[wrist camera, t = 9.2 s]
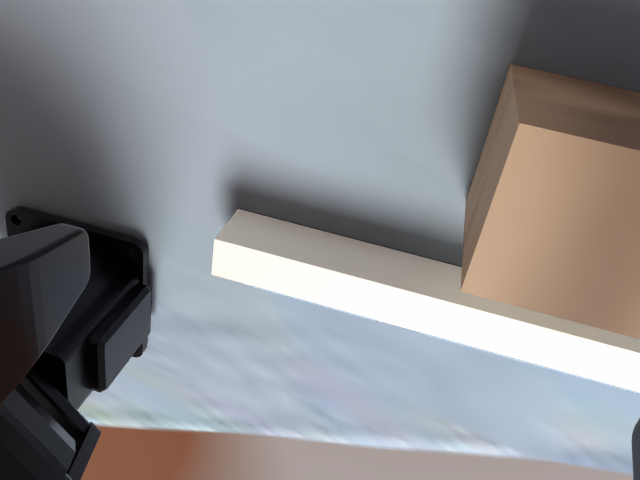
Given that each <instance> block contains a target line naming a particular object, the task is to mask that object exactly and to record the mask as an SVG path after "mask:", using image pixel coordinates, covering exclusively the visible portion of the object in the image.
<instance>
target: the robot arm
mask: <svg viewBox="0 0 640 480" xmlns="http://www.w3.org/2000/svg"><path fill="white" fill-rule="evenodd" d="M17 216H18V217H19V218H20V220H19V219H18V217H17ZM6 225H7V232H8V237H6V238H2V239H0V480H80V479H81V477H82V475H83V472H84V470H85V468H86V466H87V463H88V461H89V459H90V457H91V454H92V452H93V450H94V448H95V445H96V443H97V441H98V439H99V436H100V434H101V431H99V429H98V428H97V427H96V426H95V425H94V424H93V423H92V422H90V423H89V422H88V421H87V420H86V419H85V418H84V417H83V416H82V415H81V414H80V412H79V411H78V409H79V407H80V406H81V405H82V404H83V402H84V401H85V400H86V399H87V397H88V396H89V395H90V393H91V392H92V391H93V390H94V391H97V392H102V391H104V390H106V389H107V388H108V387H109V386H110V384H111V383H112V382H113V380H114V379H115V378H116V376H117V375H118V374H119V373H120V371H121V370H122V369H123V367H124V366H125V365H126V363H127V362H128V361H129V359H130V358H131V357H140V356H141V355H142V354H143V352H144V351H145V350H146V347H147V336H148V335H149V333H150V323H151V290H150V288H149V286H148V285H147V275H148V249H147V246H146V244H145V243H144V242H143V241H142V240H140V239H138V238H135V237H131V236H127V235H124V234H120V233H116V232H113V231H109V230H105V229H102V228H98V227H94V226H91V225H87V224H83V223H80V222H76V221H72V220H69V219H65V218H61V217H58V216H54V215H50V214H47V213H43V212H39V211H36V210H32V209H28V208H25V207H21V206H16V207H13V208H12V209H10V210H9V211H8V212H7V213H6ZM132 247H133V248H135V249H136V250H137V252H138V253H136V252H134V251H133V249H132ZM632 459H633V479H634V480H640V419H639V420H638V422H637V423H636V425H635V427H634V430H633V434H632Z"/></svg>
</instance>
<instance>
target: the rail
mask: <svg viewBox="0 0 640 480" xmlns="http://www.w3.org/2000/svg"><path fill="white" fill-rule="evenodd" d="M212 275H215V276H219V277H223V278H226V279H230V280H233V281H237V282H241V283H244V284H248V285H251V287H253V288H257V289H261V290H264V291H268V292H271V293H275V294H279V295H282V296H286V297H290V298H293V299H297V300H300V301H304V302H308V303H311V304H315V305H319V306H322V307H326V308H329V309H333V310H337V311H340V312H344V313H347V314H351V315H355V316H358V317H362V318H366V319H369V320H373V321H376V322H378V321H382V322H386V323H389V324H393V325H397V326H400V327H404V328H407V329H411V330H415V331H417V333H420V334H424V335H427V336H431V337H434V338H438V339H442V340H445V341H449V342H452V343H456V344H460V345H463V346H467V347H471V348H474V349H478V350H481V351H485V352H489V353H492V354H496V355H500V356H503V357H507V358H510V359H514V360H518V361H521V362H525V363H529V364H532V365H536V366H539V367H543V368H547V369H550V370H554V371H557V372H561V373H565V374H568V375H572V376H576V377H579V378H583V379H586V380H590V381H594V382H597V383H601V384H605V385H608V386H612V387H615V388H619V389H623V390H626V391H630V392H634V393H637V394H638V393H640V339H637V338H633V337H629V336H625V335H622V334H618V333H614V332H610V331H607V330H603V329H599V328H595V327H592V326H588V325H584V324H580V323H577V322H573V321H569V320H565V319H562V318H558V317H554V316H550V315H547V314H543V313H539V312H535V311H532V310H528V309H524V308H520V307H517V306H513V305H509V304H505V303H502V302H498V301H494V300H490V299H487V298H483V297H479V296H475V295H472V294H468V293H464V292H460V291H461V275H462V267H458V266H455V265H451V264H447V263H443V262H439V261H435V260H432V259H428V258H424V257H420V256H416V255H413V254H409V253H405V252H401V251H397V250H393V249H390V248H386V247H382V246H378V245H374V244H370V243H367V242H363V241H359V240H355V239H351V238H347V237H344V236H340V235H336V234H332V233H328V232H324V231H321V230H317V229H313V228H309V227H305V226H301V225H298V224H294V223H290V222H286V221H282V220H278V219H275V218H271V217H267V216H263V215H259V214H255V213H252V212H248V211H244V210H240V209H237V211H236V212H235V213H234V215H233V216H232V217H231V218H230V220H229V221H228V222H227V224H226V225H225V226H224V227H223V229H222V230H221V231H220V232H219V234H218V235H217V236H216V238H215V239H214V250H213V263H212Z"/></svg>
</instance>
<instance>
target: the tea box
mask: <svg viewBox="0 0 640 480" xmlns="http://www.w3.org/2000/svg"><path fill="white" fill-rule="evenodd" d="M460 292H464V293H468V294H472V295H475V296H479V297H483V298H487V299H490V300H494V301H498V302H502V303H505V304H509V305H513V306H517V307H520V308H524V309H528V310H532V311H535V312H539V313H543V314H547V315H550V316H554V317H558V318H562V319H565V320H569V321H573V322H577V323H580V324H584V325H588V326H592V327H595V328H599V329H603V330H607V331H610V332H614V333H618V334H622V335H625V336H629V337H633V338H637V339H640V92H636V91H632V90H627V89H623V88H618V87H614V86H609V85H605V84H600V83H596V82H591V81H587V80H582V79H577V78H573V77H568V76H564V75H559V74H555V73H550V72H546V71H541V70H537V69H532V68H528V67H523V66H518V65H514V64H510V67H509V70H508V73H507V76H506V79H505V82H504V85H503V88H502V91H501V94H500V98H499V101H498V104H497V107H496V110H495V113H494V116H493V119H492V122H491V125H490V128H489V131H488V135H487V138H486V141H485V144H484V147H483V150H482V153H481V156H480V159H479V162H478V165H477V168H476V171H475V175H474V178H473V181H472V184H471V187H470V190H469V193H468V196H467V199H466V209H465V225H464V242H463V258H462V275H461V291H460Z"/></svg>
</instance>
